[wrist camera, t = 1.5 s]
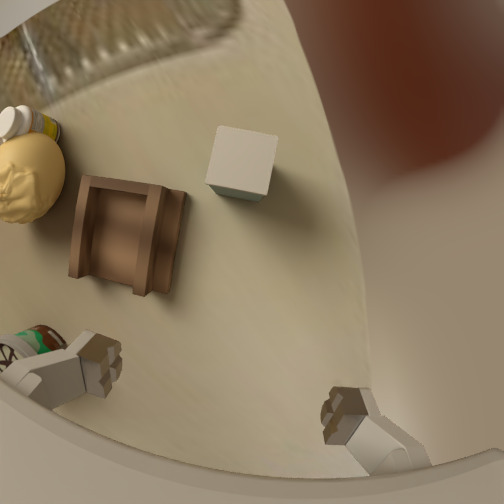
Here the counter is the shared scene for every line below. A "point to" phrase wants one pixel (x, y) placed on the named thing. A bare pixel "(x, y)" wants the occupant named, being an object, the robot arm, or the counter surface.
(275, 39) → the counter surface
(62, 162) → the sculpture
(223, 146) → the tin
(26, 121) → the supplement bottle
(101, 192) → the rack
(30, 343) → the food container
